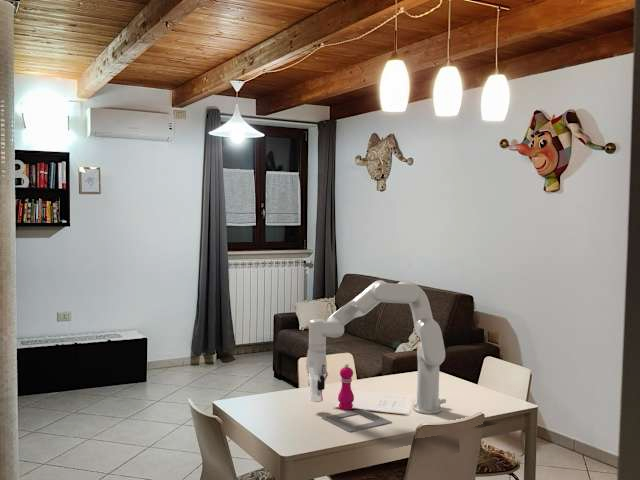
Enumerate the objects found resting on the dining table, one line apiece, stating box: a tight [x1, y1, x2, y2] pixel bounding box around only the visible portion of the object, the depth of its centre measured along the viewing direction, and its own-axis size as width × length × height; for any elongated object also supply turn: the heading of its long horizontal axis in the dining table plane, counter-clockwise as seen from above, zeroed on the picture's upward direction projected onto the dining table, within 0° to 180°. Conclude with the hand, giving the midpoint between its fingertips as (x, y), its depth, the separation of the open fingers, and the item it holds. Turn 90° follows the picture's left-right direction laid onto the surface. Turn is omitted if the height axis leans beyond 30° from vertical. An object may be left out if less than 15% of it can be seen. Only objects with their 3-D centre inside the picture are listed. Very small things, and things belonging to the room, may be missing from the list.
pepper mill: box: [337, 363, 355, 411], centre depth 288 cm, size 7×7×20 cm
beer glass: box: [308, 367, 324, 403], centre depth 283 cm, size 7×7×15 cm
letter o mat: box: [321, 408, 393, 433], centre depth 272 cm, size 22×20×1 cm
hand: (316, 387), depth 283 cm, fingers closed on beer glass, 6 cm apart
